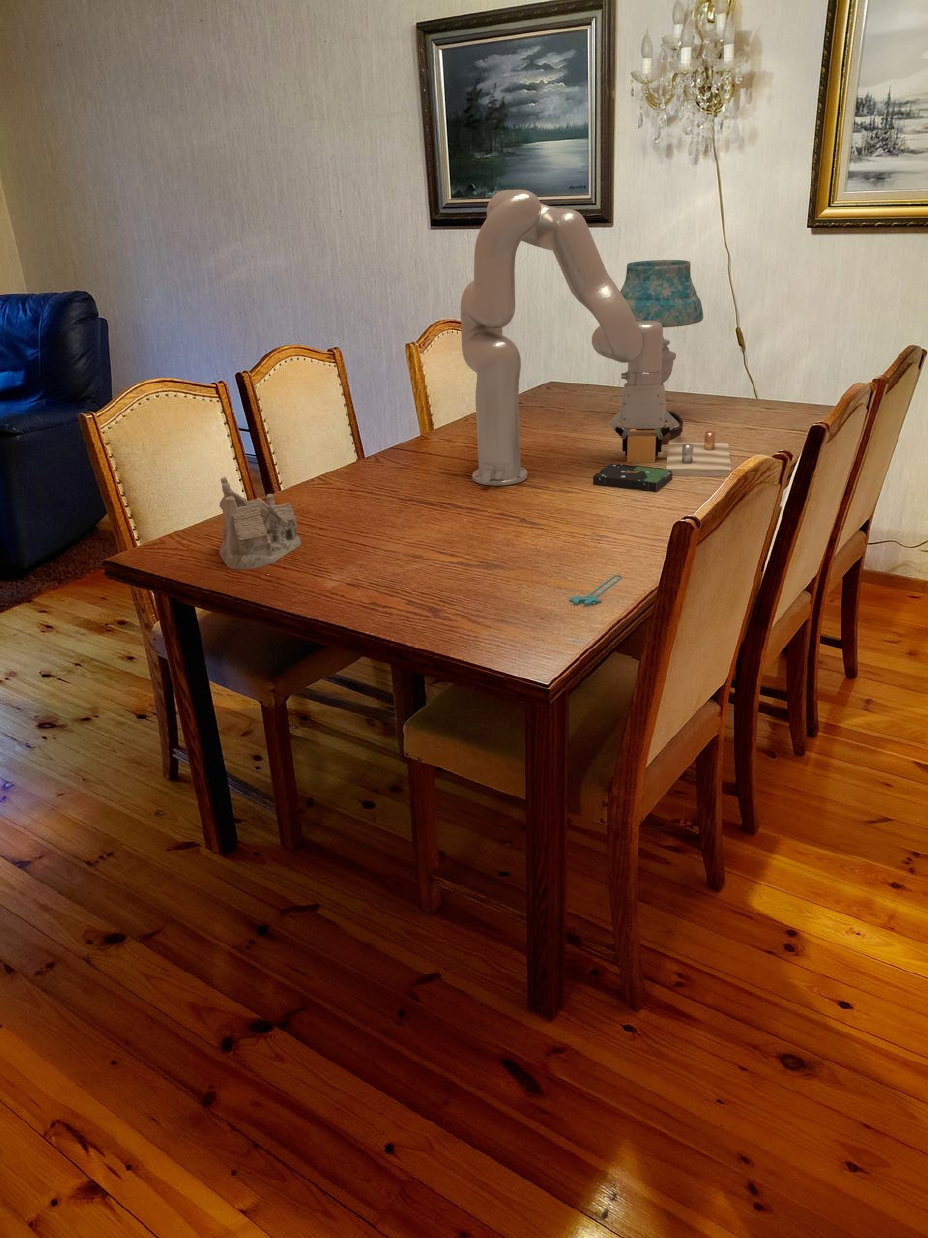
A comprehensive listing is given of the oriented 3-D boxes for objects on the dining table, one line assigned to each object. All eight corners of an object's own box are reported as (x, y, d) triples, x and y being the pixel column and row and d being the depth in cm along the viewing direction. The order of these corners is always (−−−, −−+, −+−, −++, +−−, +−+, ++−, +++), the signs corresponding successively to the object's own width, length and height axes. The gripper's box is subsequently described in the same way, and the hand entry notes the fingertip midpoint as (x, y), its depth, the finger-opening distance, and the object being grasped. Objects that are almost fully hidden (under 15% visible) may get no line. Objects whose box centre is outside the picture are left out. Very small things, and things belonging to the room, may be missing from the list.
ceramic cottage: (222, 572, 166) (213, 491, 161) (218, 545, 181) (210, 470, 175) (308, 564, 170) (303, 485, 165) (297, 538, 185) (292, 465, 179)
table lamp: (604, 410, 263) (606, 261, 245) (688, 406, 261) (696, 256, 244) (613, 431, 241) (616, 269, 224) (705, 427, 240) (715, 264, 223)
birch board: (730, 476, 202) (731, 469, 201) (665, 475, 205) (666, 468, 204) (727, 449, 221) (728, 443, 220) (668, 448, 224) (668, 442, 223)
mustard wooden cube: (654, 462, 214) (655, 437, 211) (627, 462, 215) (627, 437, 213) (655, 455, 220) (656, 430, 217) (628, 454, 221) (629, 430, 218)
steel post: (692, 463, 207) (693, 446, 205) (681, 463, 207) (682, 446, 206) (692, 460, 209) (693, 443, 207) (681, 460, 209) (682, 443, 208)
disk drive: (592, 487, 202) (657, 494, 195) (592, 475, 201) (658, 481, 194) (609, 474, 210) (672, 480, 203) (609, 462, 209) (673, 468, 202)
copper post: (714, 450, 215) (715, 433, 214) (704, 450, 216) (705, 433, 214) (714, 447, 217) (715, 431, 216) (703, 447, 218) (704, 431, 216)
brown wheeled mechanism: (672, 434, 238) (684, 410, 231) (675, 459, 232) (688, 435, 225) (627, 425, 236) (639, 400, 230) (630, 450, 230) (641, 425, 224)
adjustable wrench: (592, 605, 145) (564, 599, 147) (592, 611, 145) (565, 605, 148) (632, 575, 155) (605, 569, 157) (632, 580, 155) (605, 575, 158)
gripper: (604, 381, 208) (603, 458, 216) (683, 381, 204) (678, 459, 212) (607, 374, 215) (606, 449, 222) (683, 374, 211) (679, 450, 219)
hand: (641, 453), depth 217 cm, fingers closed on mustard wooden cube, 6 cm apart
